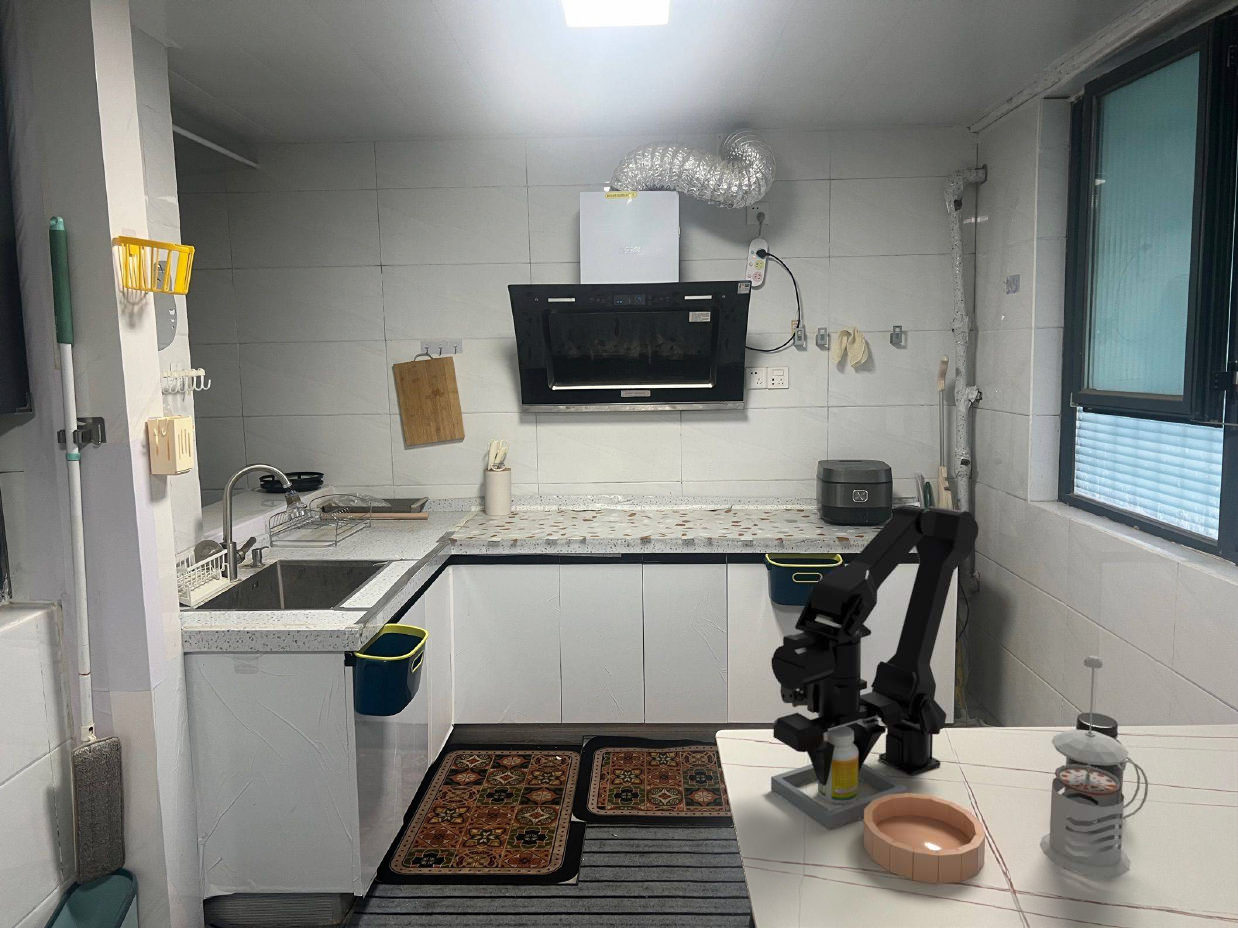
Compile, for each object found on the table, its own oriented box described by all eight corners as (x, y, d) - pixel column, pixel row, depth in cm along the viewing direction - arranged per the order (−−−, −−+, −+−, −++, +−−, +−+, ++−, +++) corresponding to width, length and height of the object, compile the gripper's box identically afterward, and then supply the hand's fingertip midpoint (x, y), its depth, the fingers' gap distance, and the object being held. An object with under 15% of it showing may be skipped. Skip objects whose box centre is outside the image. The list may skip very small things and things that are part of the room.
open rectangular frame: (845, 765, 128) (845, 753, 127) (907, 801, 117) (907, 787, 117) (771, 789, 121) (771, 776, 121) (829, 829, 111) (829, 815, 110)
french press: (1025, 830, 109) (1032, 642, 106) (1117, 830, 109) (1127, 641, 106) (1063, 877, 100) (1072, 671, 96) (1164, 876, 99) (1176, 670, 96)
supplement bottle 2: (1057, 804, 115) (1061, 720, 114) (1072, 785, 120) (1075, 704, 119) (1114, 822, 111) (1119, 734, 109) (1127, 801, 116) (1131, 717, 114)
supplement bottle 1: (811, 796, 119) (811, 731, 118) (830, 782, 123) (830, 718, 122) (846, 809, 115) (846, 742, 114) (864, 794, 119) (865, 729, 118)
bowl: (918, 807, 115) (919, 783, 115) (1008, 860, 103) (1009, 833, 103) (840, 837, 109) (840, 811, 108) (926, 896, 96) (927, 867, 96)
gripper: (848, 642, 128) (847, 741, 130) (748, 666, 119) (748, 771, 121) (905, 665, 118) (903, 771, 120) (800, 692, 110) (800, 806, 112)
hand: (838, 778), depth 119 cm, fingers closed on supplement bottle 1, 5 cm apart
